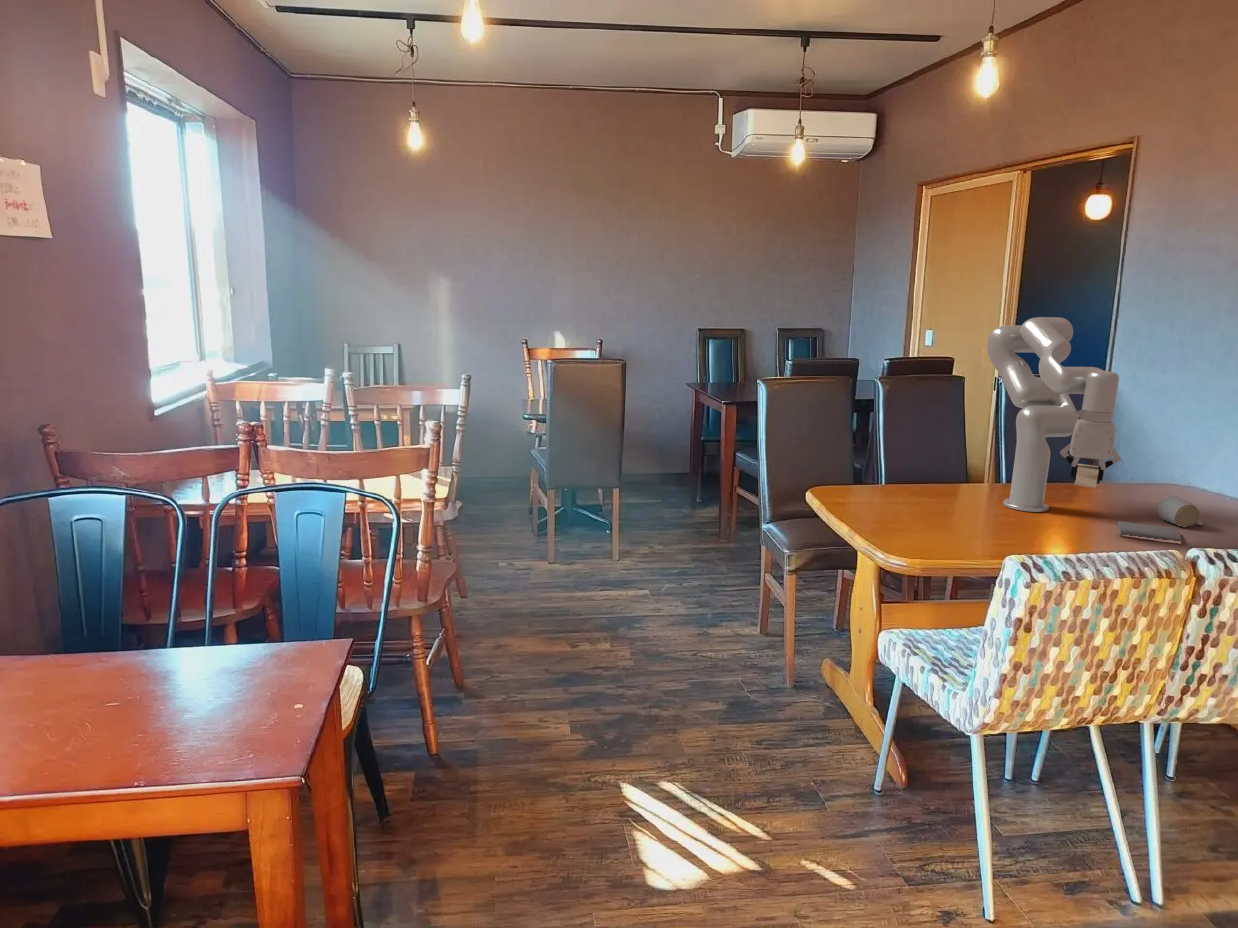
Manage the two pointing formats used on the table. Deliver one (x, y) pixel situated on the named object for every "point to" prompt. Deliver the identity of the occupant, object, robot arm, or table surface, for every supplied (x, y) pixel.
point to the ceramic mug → (1179, 511)
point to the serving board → (1148, 531)
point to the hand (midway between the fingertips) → (1085, 480)
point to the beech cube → (1087, 475)
